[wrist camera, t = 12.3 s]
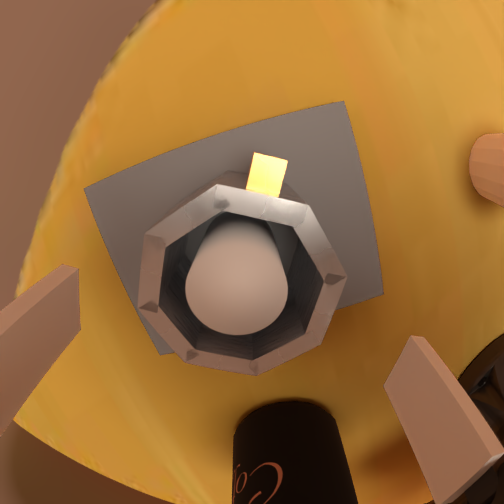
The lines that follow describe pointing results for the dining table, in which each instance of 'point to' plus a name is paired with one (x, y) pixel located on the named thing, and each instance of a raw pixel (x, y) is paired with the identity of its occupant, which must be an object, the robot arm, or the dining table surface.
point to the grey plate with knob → (246, 218)
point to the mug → (298, 279)
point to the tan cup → (488, 167)
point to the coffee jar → (290, 458)
